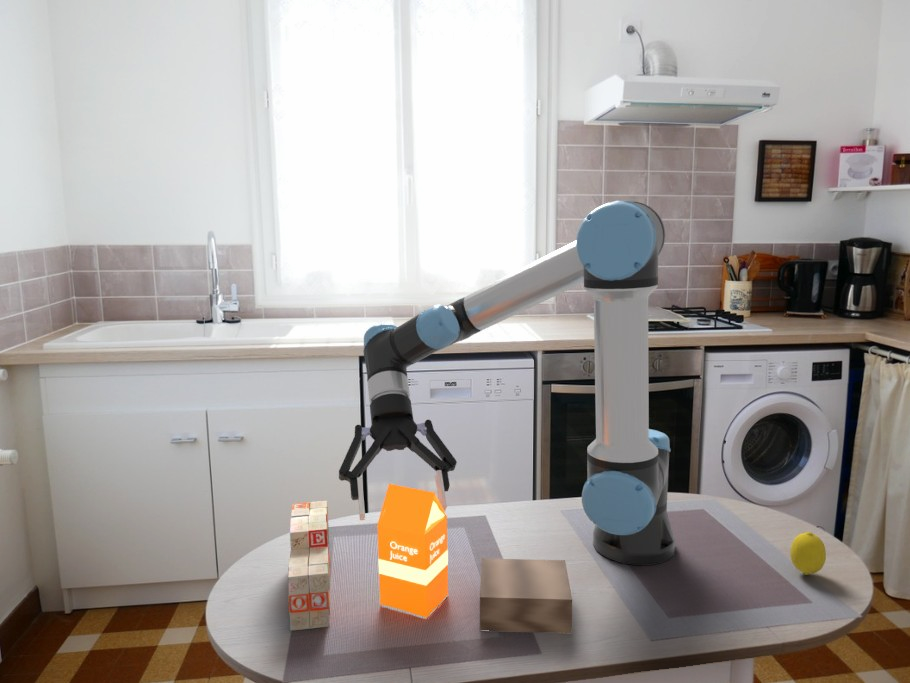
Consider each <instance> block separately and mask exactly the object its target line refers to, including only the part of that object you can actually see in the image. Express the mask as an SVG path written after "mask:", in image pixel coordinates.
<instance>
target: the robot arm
mask: <svg viewBox="0 0 910 683" xmlns="http://www.w3.org/2000/svg"><path fill="white" fill-rule="evenodd" d="M665 241H666V229H665V224H664V222H663V219H662V218H661V216H660V215H659V213H658V212H657V211H656V210H655V209H654V208H653V207H651V206H649V205H647V204H645V203H643V202H639V201H629V200H615V201H609V202H606V203H603V204H601V205H599V206H597V207H596V208H595V209H593V210H592V211H591V212H589V213H588V214H587V215H586V216H585V218H583V221H582V222H581V223H580V226H579V228H578V231H577V234H576V240H574V241H573V242H570V243H568V244H567V245H564V246H562V247H560V248H558V249H556V250H554V251H552V252H551V253H548V254H547V255H545V256H542V257H541V258H539V259H537V260H535V261H532V262H531V263H529V264H527V265H524V266H523V267H521V268H519V269H517V270H515V271H513V272H510V273H509V274H507V275H505V276H503V277H501V278H499V279H496V280H495V281H493V282H491V283H490V284H487V285H485V286H484V287H482V288H479V289H477V290H476V291H473V292H471V293H469V294H467V295H466V296H464V297H461V298H459V299H457V300H455V301H453V302H452V303H449V304H447V305H445V306H444V305H443V304H435V305H432V307H430V308H427V309H423V310H422V311H421V312H420V313H419V314H417V315H415V316H414V317H412V318H410V319H409V320H407V321H406V322H404V323H402V324H400V325H399V326H397V325H395V324H392V323H385V322H384V323H381V324H379V325H372V326H371V327H369V328H368V329H367V330H366V331H365V333H364V335H363V357H364V363H365V364H364V365H365V369H366V377H367V389H368V391H367V392H368V401H369V402H368V403H369V411H370V420H371V421H370V422H371V425H370V426H369V427H363V426H362V425H361V424H356V425H355V427H354V437H353V438H352V441H351V444H350V445H349V447H348V449H347V452H346V454H345V457H344V459H343V462H342V464H341V466H340V468H339V470H338V479H339V480H340V481H341V482H344V481H346V482H349V485H350V486H349V487H350V499H351V500H352V501H358V516H359V521H365V520H366V519H365V518H366V510H365V500H364V490H363V489H364V488H363V479H362V475H363V473H364V472H365V471H366V470H367V468H368V467H369V466H370V465H371V463H372V462H373V461H374V459H375V458H376V457H377V455H379V453H380V452H381V451H382V450H384V451H386V452H391V451H394V450H397V451H403V450H405V449H406V448H408V449H409V450H410V451H411V452H413V453H415V454H416V455H417V456H418V457H419V458H420V459H422V461H424V462H425V463H426V464H427V465H428V466H429V467H430V468H432V469H433V470H434V471H436V473H435V475H434V478H435V479H434V480H435V484H436V491H437V499H438V501H439V503H440V505H441V507H442V509H443V511H444V513H445V512H446V509H447V507H448V504H447V498H446V492H448V491H449V489H450V479H449V472H454V470H455V468H456V466H457V463H458V462H457V460H456V459H455V457H454V456H453V454H452V453H451V452H450V450H449V449H448V447H447V446H446V444H445V443H444V442H443V440H442V439H441V438H440V437H439V435H438V434H437V432H436V431H435V429H434V426H433V422H432V420H430V419H425V421H424V422H422V423H416V422H415V420H414V415H413V409H412V408H413V407H412V401H411V394H410V393H411V392H410V386H409V379H408V371H407V370H408V369H407V368H408V367H410V366H411V365H415V364H416V363H417V362H419V361H421V360H423V359H425V358H427V357H428V356H430V355H433V354H435V353H436V352H439V351H441V350H443V349H445V348H447V347H450V346H453V345H454V344H456V343H459V342H462V341H464V340H466V339H469V338H470V337H471V336H474V335H476V334H477V333H480V332H482V331H483V330H485V329H488V328H491V327H493V326H495V325H496V324H499V323H500V322H504V321H506V320H507V319H509V318H511V317H514V316H516V315H518V314H520V313H522V312H524V311H526V310H528V309H530V308H533V307H535V306H537V305H540V304H541V303H544V302H545V301H548V300H550V299H552V298H554V297H556V296H559V295H560V294H562V293H565V292H567V291H569V290H572V289H573V288H576V287H577V286H579V285H580V286H581V285H582V284H583V288H584V290H585V291H586V292H587V293H588V294H589V295H590V296H591V297H592V298H593V328H594V329H593V331H594V332H593V333H594V334H593V335H594V344H593V345H594V385H595V386H594V387H595V388H594V390H595V391H594V392H595V393H594V395H595V397H594V400H595V401H594V402H595V439H594V440H593V441H591V443H590V444H588V446H587V449H586V450H587V451H586V453H587V454H586V455H587V456H586V459H587V463H586V467H587V468H586V470H587V477H586V478H587V479H586V481H585V482H584V485H583V487H582V491H581V504H582V505H581V506H582V508H583V511H584V513H585V515H586V516H587V518H588V519H589V520H590V522H592V523H593V525H595V526H594V527H593V532H592V534H593V535H592V545H593V547H594V549H595V550H596V551H597V552H598V553H599V554H601V555H602V556H604V557H606V558H608V559H609V560H612V561H615V562H618V563H622V564H627V565H635V566H649V565H650V566H651V565H657V564H662V563H665V562H666V561H668V560H670V559H671V558H672V557H673V556H674V554H675V551H676V550H675V547H676V539H675V536H674V531H673V528H672V525H671V522H670V518H669V515H668V510H667V509H668V507H667V506H668V489H669V465H670V464H669V463H670V453H671V450H672V449H671V447H670V438H669V436H668V435H667V434H666V433H664V432H661V431H659V430H656V429H651V428H650V427H649V425H650V423H649V421H650V417H649V416H650V415H649V412H650V411H649V410H650V408H649V406H650V404H649V400H650V399H649V392H650V391H649V387H650V386H649V385H650V384H649V380H650V379H649V297H650V295H651V294H652V293H653V292H654V291H655V290H657V288H658V287H659V256H660V254H661V252H662V250H663V249H664V245H665ZM418 432H419V433H420V434H421V435H422V436H424V437H426V440H427V441H428V443H429V444H430V446H431V448H432V449H433V450H434V451H435V453H434V452H433V451H432V450H430V449H429V448H428V447H427V446H426V445H424V443H423V442H421V440H420V439H419V438H418V437H417V436H416V434H417V433H418ZM368 436H369V437H371V439H372V440H373V442H372V444H371V445H370V446H369V448H368V450H367V451H366V452H365V453H364V454H363V456H362V457H361V458H360V459H359V461H358V462H357V463H356V465H355V467H353V469H352V470H351V467H352V466H353V463H354V460H355V458H356V457H357V454H358V452H359V449H360V447H361V445H362V441H364V440H366V438H367V437H368Z"/></svg>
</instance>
